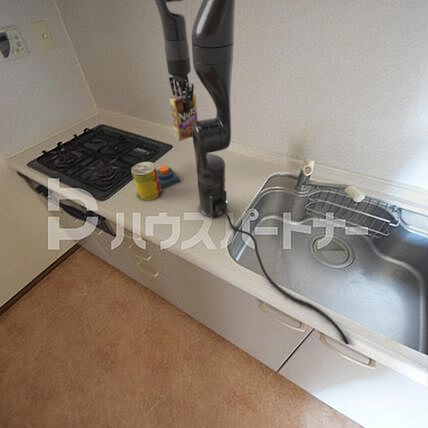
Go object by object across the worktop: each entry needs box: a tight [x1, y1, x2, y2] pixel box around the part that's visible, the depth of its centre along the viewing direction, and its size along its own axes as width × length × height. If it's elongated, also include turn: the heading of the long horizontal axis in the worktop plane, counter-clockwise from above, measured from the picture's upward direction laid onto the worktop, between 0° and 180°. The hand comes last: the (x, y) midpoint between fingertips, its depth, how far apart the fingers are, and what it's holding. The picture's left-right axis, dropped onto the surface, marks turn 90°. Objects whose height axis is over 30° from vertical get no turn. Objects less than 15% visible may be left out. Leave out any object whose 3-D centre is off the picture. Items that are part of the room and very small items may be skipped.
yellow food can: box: [130, 160, 162, 201], centre depth 93 cm, size 9×9×12 cm
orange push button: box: [156, 167, 180, 189], centre depth 102 cm, size 10×8×4 cm
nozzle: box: [158, 165, 170, 175], centre depth 100 cm, size 4×4×2 cm
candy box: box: [169, 93, 198, 142], centre depth 90 cm, size 9×4×15 cm, turn 123°
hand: (184, 110), depth 88 cm, fingers closed on candy box, 4 cm apart
